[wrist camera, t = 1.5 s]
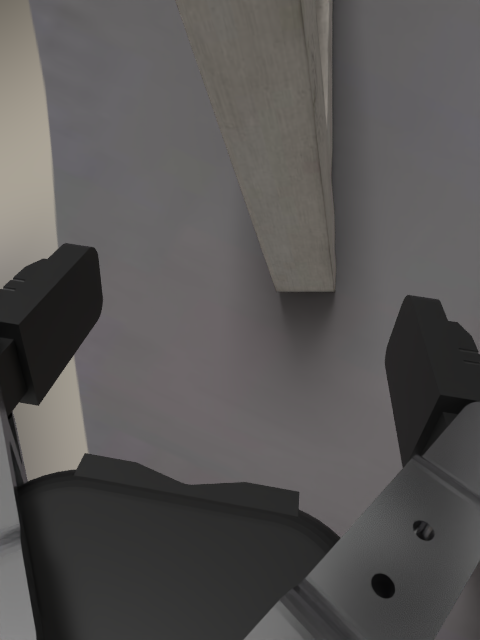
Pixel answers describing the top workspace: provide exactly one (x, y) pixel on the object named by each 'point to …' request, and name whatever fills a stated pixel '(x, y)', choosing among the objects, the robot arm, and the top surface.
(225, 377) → the top surface
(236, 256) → the top surface
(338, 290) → the top surface
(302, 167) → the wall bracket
